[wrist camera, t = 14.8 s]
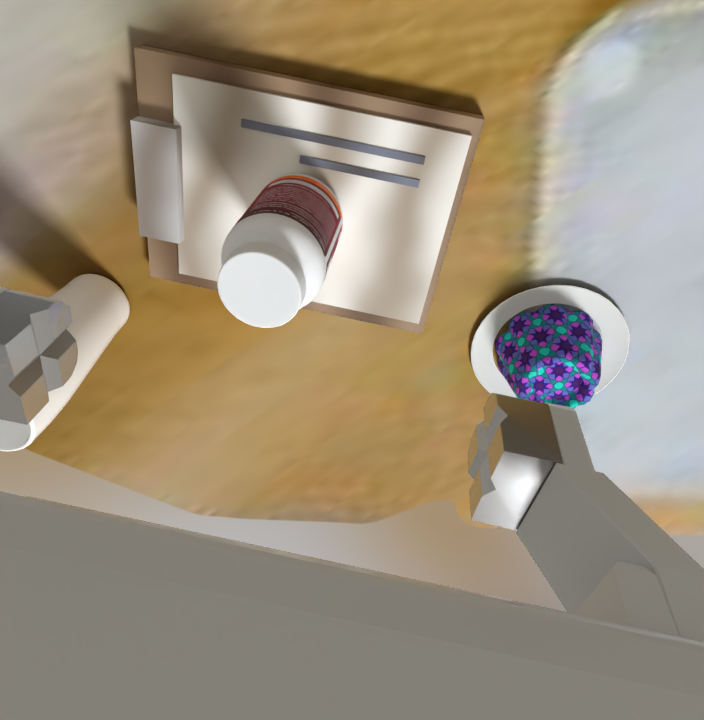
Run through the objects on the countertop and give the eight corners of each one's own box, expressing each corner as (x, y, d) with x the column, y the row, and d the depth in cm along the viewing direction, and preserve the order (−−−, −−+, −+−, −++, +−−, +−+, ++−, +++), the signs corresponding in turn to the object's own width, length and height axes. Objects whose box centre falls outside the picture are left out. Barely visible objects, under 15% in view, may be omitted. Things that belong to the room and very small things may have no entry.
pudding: (661, 338, 41) (686, 379, 37) (544, 425, 48) (554, 468, 44) (548, 249, 38) (561, 283, 34) (440, 355, 45) (440, 394, 41)
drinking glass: (47, 282, 46) (-94, 393, 34) (101, 249, 43) (-30, 357, 31) (103, 342, 49) (-8, 464, 37) (157, 315, 46) (57, 436, 34)
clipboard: (483, 115, 34) (485, 124, 32) (422, 325, 43) (421, 342, 41) (142, 45, 34) (124, 49, 32) (156, 269, 43) (143, 283, 41)
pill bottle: (248, 175, 36) (187, 239, 27) (337, 166, 35) (304, 231, 26) (268, 259, 40) (219, 341, 31) (349, 254, 39) (323, 337, 30)
